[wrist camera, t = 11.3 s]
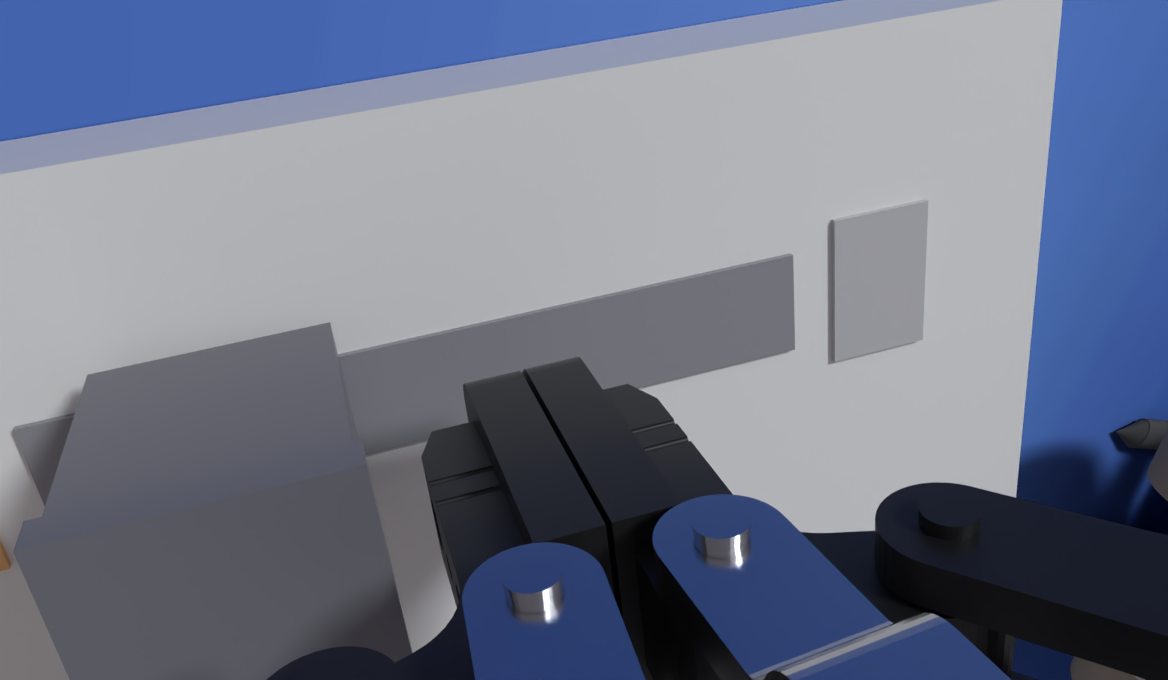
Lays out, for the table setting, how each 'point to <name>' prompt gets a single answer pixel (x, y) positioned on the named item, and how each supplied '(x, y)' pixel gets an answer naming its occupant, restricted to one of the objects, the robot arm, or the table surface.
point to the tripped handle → (213, 519)
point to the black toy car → (1164, 477)
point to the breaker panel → (574, 256)
